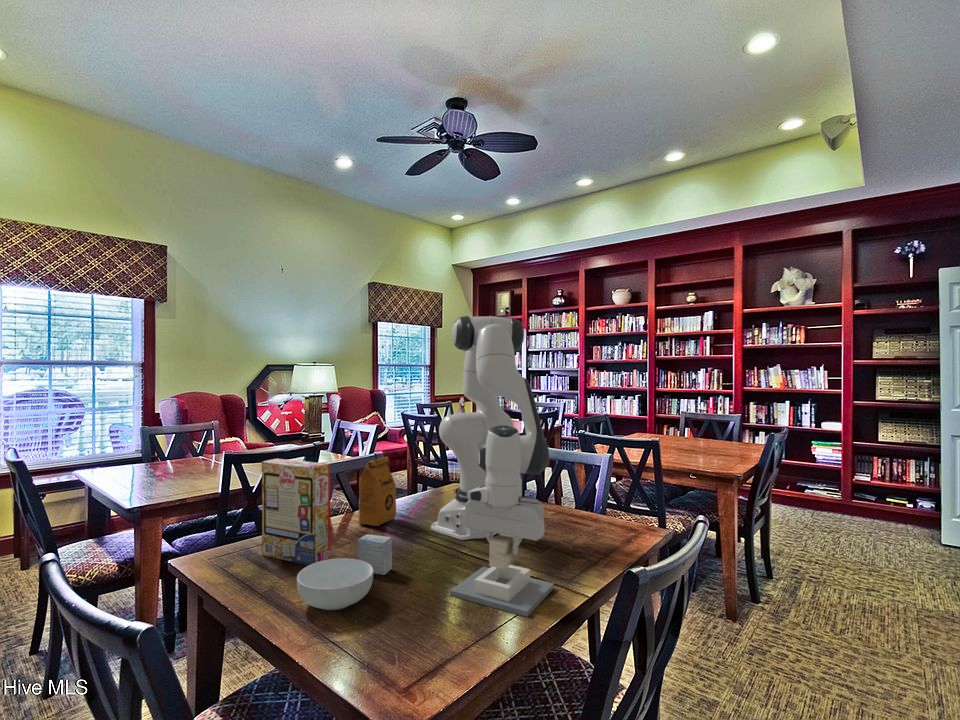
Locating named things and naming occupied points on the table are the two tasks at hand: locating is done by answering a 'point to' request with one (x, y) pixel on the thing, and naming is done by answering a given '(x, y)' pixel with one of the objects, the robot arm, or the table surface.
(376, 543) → the medicine box
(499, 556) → the key block
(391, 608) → the table surface
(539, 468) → the robot arm
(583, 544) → the table surface
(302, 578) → the cereal bowl
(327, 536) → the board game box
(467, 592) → the cradle
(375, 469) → the coffee package
